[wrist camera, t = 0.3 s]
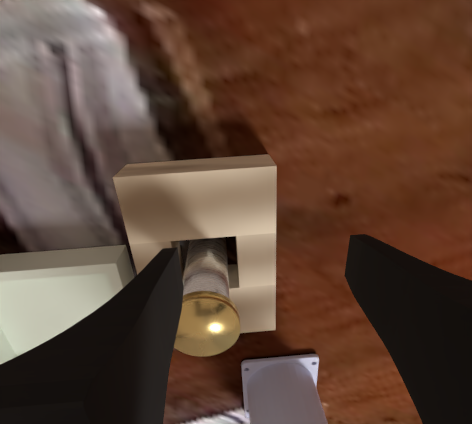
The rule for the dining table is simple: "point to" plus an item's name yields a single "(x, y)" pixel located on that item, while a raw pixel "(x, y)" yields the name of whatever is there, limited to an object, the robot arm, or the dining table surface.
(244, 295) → the hitch block
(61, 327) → the tray
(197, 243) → the pin
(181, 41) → the dining table surface
